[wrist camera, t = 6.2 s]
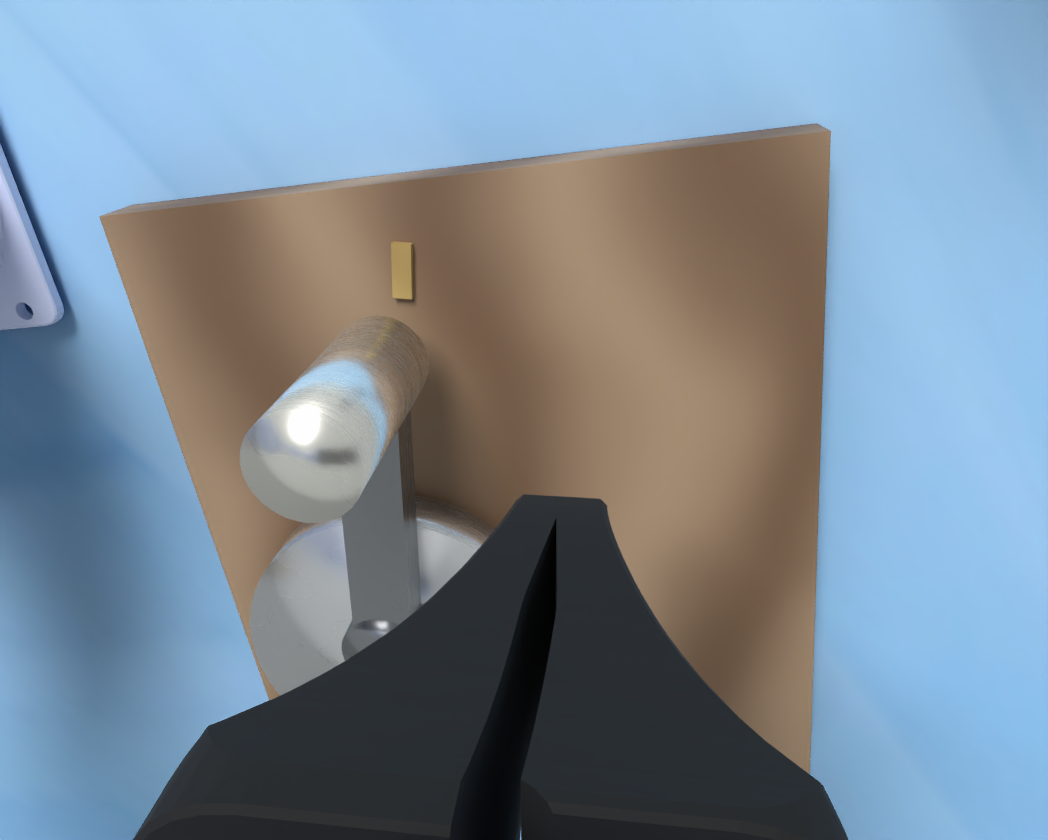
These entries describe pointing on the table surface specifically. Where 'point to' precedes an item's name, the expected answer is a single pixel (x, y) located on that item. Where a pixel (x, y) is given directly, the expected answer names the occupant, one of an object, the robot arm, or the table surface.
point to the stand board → (543, 364)
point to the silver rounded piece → (348, 506)
